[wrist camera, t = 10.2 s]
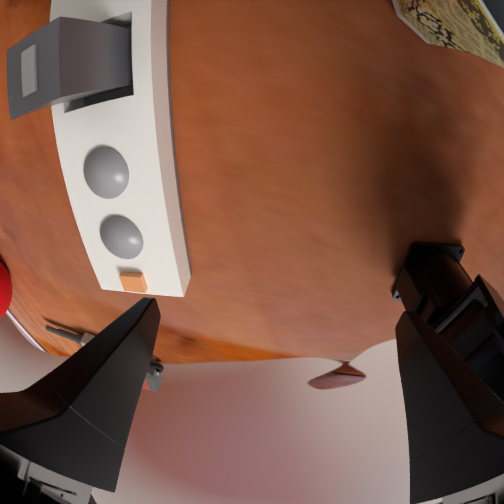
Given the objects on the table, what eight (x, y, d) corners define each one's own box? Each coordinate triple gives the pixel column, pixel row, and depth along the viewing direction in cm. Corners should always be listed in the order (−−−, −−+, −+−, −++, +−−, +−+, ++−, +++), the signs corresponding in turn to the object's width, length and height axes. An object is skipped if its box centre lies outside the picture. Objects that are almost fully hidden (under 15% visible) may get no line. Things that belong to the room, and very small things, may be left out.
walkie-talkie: (163, 350, 32) (47, 315, 32) (154, 379, 29) (34, 336, 28) (170, 380, 37) (66, 348, 37) (164, 404, 34) (56, 367, 33)
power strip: (171, -41, 8) (152, -59, 6) (192, 273, 24) (181, 302, 21) (76, -7, 9) (48, -13, 6) (115, 268, 24) (99, 293, 21)
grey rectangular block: (138, 31, 12) (57, 16, 5) (140, 84, 14) (58, 97, 7) (90, 46, 12) (5, 50, 5) (92, 95, 14) (8, 120, 8)
